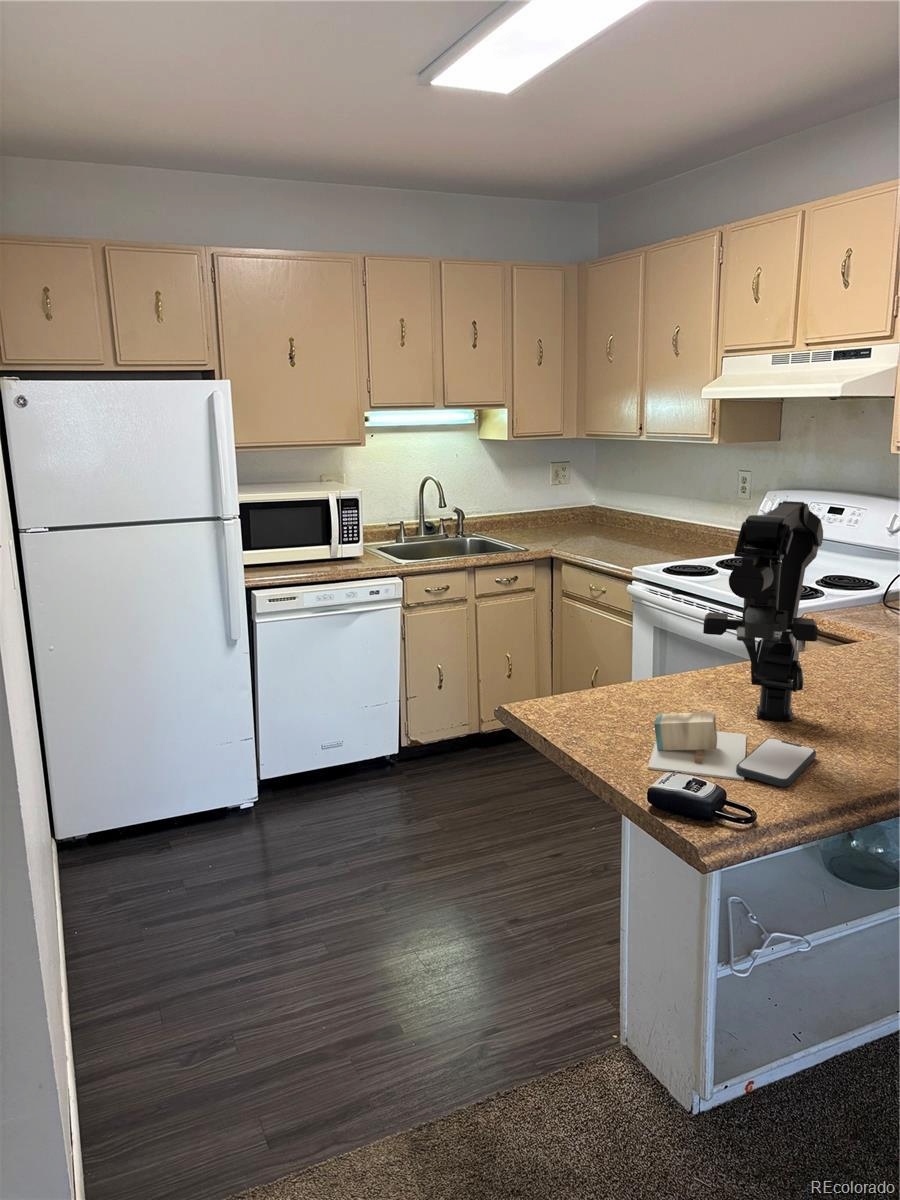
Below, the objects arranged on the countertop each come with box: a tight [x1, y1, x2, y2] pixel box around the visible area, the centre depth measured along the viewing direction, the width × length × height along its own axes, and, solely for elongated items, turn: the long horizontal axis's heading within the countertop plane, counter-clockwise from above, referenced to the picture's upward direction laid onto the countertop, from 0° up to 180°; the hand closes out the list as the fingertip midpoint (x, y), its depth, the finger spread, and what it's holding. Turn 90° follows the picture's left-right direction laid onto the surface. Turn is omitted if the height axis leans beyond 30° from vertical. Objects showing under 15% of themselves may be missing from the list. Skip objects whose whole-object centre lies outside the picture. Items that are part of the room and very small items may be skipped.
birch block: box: [653, 711, 718, 751], centre depth 152 cm, size 5×5×10 cm
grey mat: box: [647, 730, 747, 782], centre depth 152 cm, size 20×16×1 cm
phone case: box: [736, 737, 817, 788], centre depth 145 cm, size 9×2×16 cm
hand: (756, 672), depth 154 cm, fingers closed
